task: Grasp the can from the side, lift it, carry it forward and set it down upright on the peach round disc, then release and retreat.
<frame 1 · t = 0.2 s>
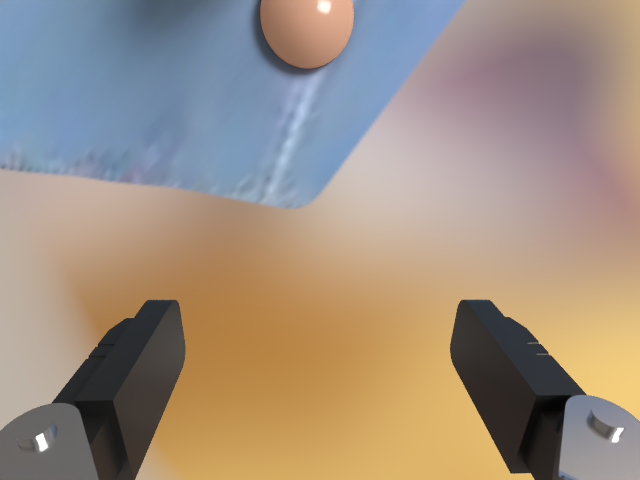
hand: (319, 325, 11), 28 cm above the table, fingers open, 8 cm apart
peach round disc: (307, 18, 32), on the table
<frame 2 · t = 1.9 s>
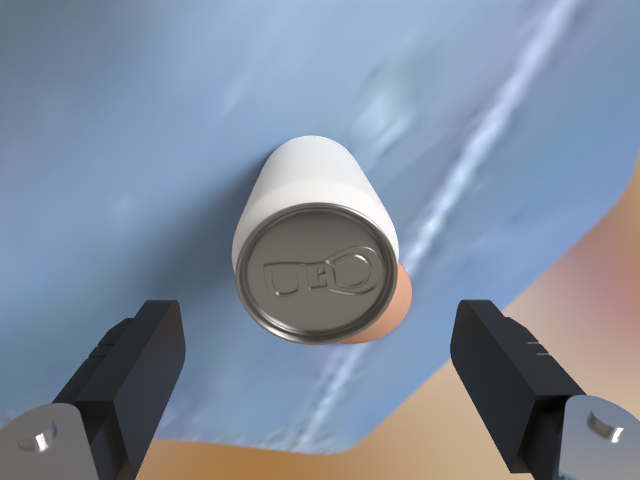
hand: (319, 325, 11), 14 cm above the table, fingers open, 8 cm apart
can: (311, 185, 24), on the table
peach round disc: (354, 292, 27), on the table
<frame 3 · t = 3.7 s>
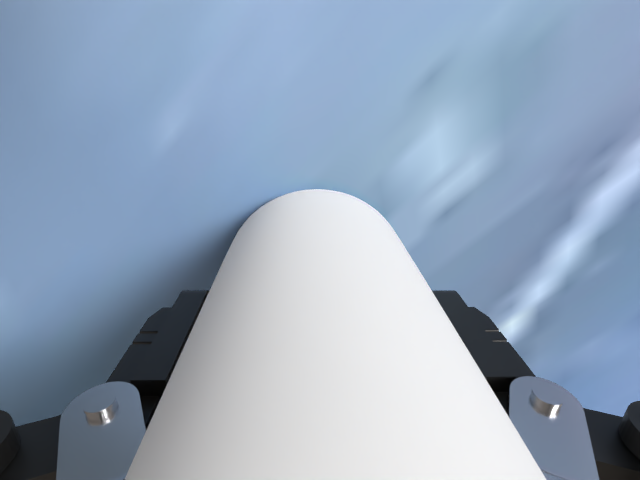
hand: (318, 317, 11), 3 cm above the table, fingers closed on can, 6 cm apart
can: (315, 266, 14), on the table, touching gripper
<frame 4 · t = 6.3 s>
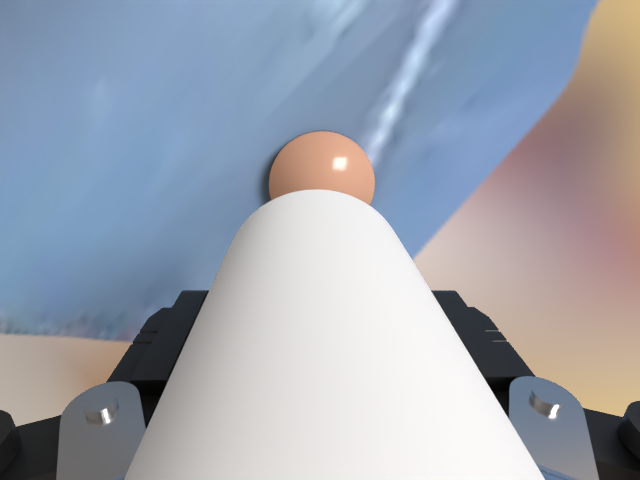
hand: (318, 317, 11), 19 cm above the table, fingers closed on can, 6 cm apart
can: (315, 266, 14), point 15 cm above the table, touching gripper
peach round disc: (321, 183, 29), on the table
when the fingers open (5 cm above the table, at t = 9.2 s): can stays where it is, resting on peach round disc.
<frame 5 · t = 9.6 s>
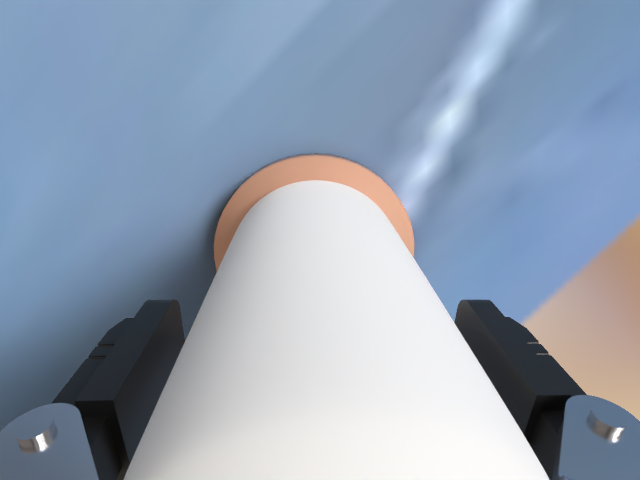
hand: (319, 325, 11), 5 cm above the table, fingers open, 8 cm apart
can: (315, 254, 15), point 1 cm above the table, touching peach round disc
peach round disc: (314, 249, 16), on the table
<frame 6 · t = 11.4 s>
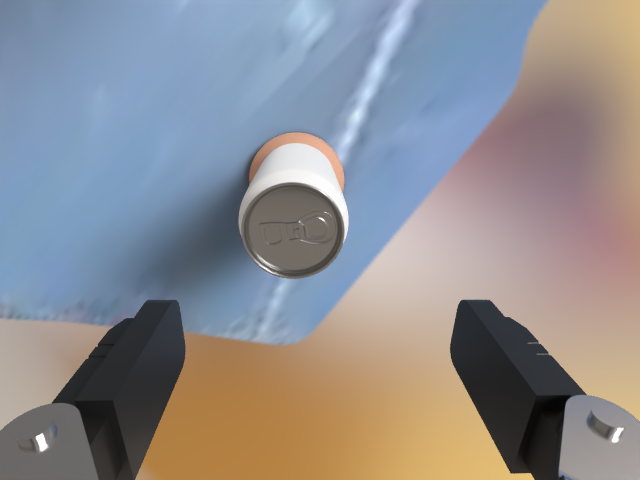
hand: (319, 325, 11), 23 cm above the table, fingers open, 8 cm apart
can: (296, 180, 31), point 1 cm above the table, touching peach round disc
peach round disc: (297, 179, 32), on the table
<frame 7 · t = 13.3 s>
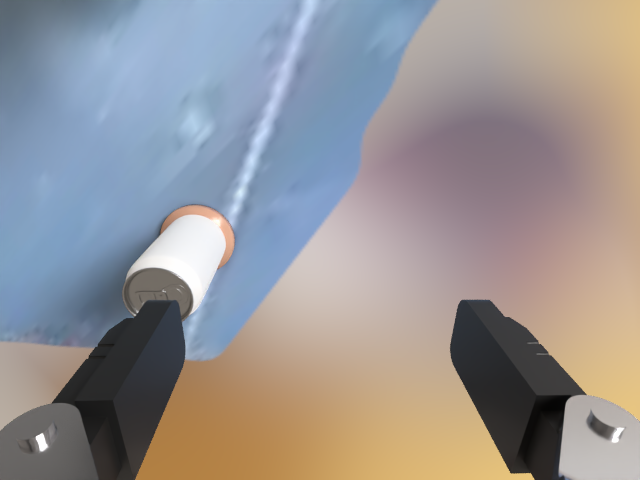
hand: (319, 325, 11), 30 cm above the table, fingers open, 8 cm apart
can: (197, 239, 41), point 1 cm above the table, touching peach round disc
peach round disc: (199, 238, 42), on the table
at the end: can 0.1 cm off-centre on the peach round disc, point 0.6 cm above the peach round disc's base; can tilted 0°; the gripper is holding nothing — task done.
